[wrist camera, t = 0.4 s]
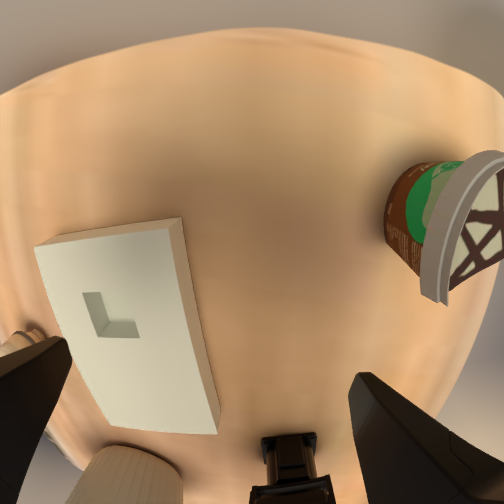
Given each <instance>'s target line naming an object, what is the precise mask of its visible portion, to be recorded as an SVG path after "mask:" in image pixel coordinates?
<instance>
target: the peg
mask: <svg viewBox="0 0 504 504" xmlns="http://www.w3.org/2000/svg"><path fill="white" fill-rule="evenodd" d="M45 339H46V338H45V336H44V335H43V333H42V332H41V331H39V330H38V329H33V330H32V331H31V332H26V333H24V332H22V331H16V332H15V333H14V334H13V335H12V336H11V337H10V338H9V339H8V340H7V341H6V342H5V343H4V344H3V345H2V346H1V347H0V357H2V356H5V355H7V354H10V353H12V352H15V351H17V350H20V349H22V348H25V347H27V346H30V345H33V344H35V343H38V342H40V341H43V340H45Z"/></svg>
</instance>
